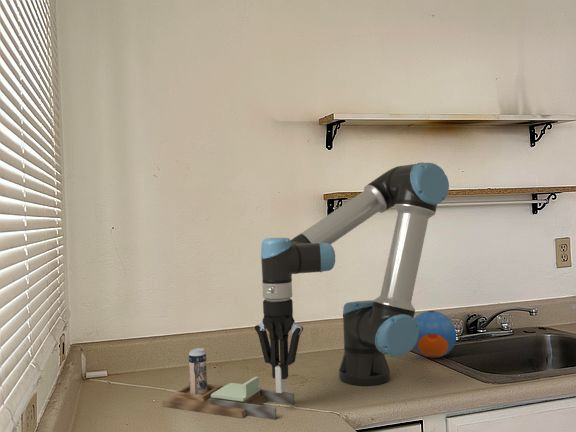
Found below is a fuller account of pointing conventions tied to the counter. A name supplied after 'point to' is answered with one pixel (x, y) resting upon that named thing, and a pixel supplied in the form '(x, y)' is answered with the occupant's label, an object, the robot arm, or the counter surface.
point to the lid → (238, 390)
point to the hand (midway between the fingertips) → (280, 391)
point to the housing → (228, 403)
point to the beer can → (198, 371)
